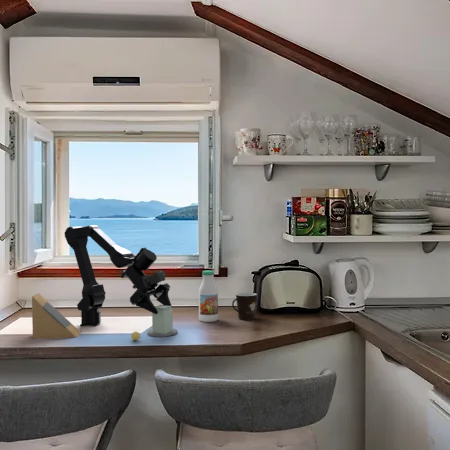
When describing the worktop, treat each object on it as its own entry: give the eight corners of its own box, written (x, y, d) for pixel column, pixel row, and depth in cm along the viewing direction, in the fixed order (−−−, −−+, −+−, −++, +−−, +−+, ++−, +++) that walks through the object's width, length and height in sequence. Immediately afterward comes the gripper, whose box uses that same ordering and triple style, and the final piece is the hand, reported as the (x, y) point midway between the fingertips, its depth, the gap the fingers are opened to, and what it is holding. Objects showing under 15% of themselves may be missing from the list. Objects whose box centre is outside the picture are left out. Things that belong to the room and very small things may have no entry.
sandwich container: (77, 337, 178) (76, 295, 178) (32, 339, 176) (31, 296, 176) (81, 332, 187) (81, 291, 186) (38, 333, 185) (38, 292, 185)
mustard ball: (130, 341, 172) (130, 332, 172) (132, 339, 175) (131, 330, 175) (139, 341, 172) (139, 332, 172) (140, 339, 175) (140, 330, 175)
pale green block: (152, 332, 182) (152, 307, 182) (160, 329, 187) (160, 304, 186) (164, 333, 180) (164, 308, 179) (172, 330, 184) (172, 306, 184)
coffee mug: (252, 315, 212) (252, 292, 212) (260, 319, 204) (260, 295, 204) (226, 317, 208) (225, 293, 208) (233, 322, 200) (232, 297, 200)
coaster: (144, 337, 178) (144, 335, 178) (149, 329, 189) (149, 328, 189) (176, 336, 178) (176, 335, 178) (179, 329, 189) (179, 327, 189)
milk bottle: (194, 320, 204) (194, 270, 203) (208, 317, 210) (208, 269, 209) (208, 323, 199) (208, 272, 198) (222, 320, 204) (221, 270, 204)
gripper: (136, 266, 176) (163, 300, 171) (165, 261, 193) (191, 292, 188) (118, 287, 180) (144, 321, 175) (148, 281, 196) (173, 311, 192)
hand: (164, 311), depth 182 cm, fingers open, 9 cm apart
